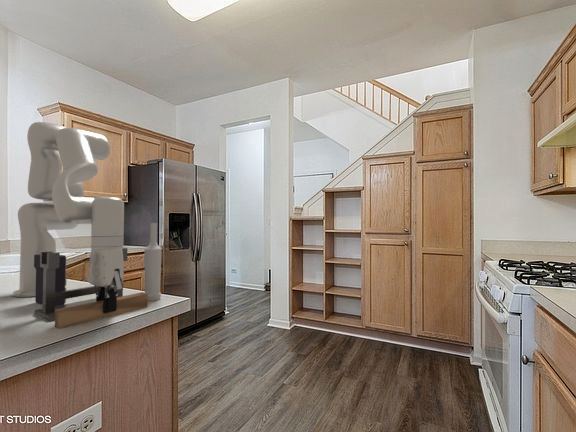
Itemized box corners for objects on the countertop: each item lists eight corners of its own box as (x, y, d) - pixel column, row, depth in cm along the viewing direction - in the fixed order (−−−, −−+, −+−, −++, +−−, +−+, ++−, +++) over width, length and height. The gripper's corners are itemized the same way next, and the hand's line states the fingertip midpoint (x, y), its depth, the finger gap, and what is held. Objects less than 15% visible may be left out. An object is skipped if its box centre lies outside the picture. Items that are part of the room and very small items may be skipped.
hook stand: (34, 314, 80) (35, 251, 81) (114, 298, 98) (115, 246, 98) (48, 321, 75) (50, 254, 75) (131, 303, 93) (132, 248, 93)
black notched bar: (67, 304, 90) (68, 255, 90) (51, 308, 86) (52, 256, 87) (49, 300, 95) (50, 253, 96) (32, 303, 91) (33, 254, 92)
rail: (54, 326, 72) (55, 309, 72) (141, 305, 90) (142, 292, 90) (59, 329, 70) (60, 311, 70) (147, 307, 89) (147, 293, 89)
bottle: (154, 301, 94) (155, 223, 95) (139, 300, 95) (141, 222, 96) (164, 297, 100) (165, 223, 100) (150, 296, 101) (151, 222, 101)
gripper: (78, 242, 82) (76, 309, 82) (108, 244, 73) (106, 320, 73) (106, 240, 88) (105, 303, 88) (138, 243, 79) (136, 312, 79)
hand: (106, 310), depth 80 cm, fingers closed on rail, 3 cm apart
